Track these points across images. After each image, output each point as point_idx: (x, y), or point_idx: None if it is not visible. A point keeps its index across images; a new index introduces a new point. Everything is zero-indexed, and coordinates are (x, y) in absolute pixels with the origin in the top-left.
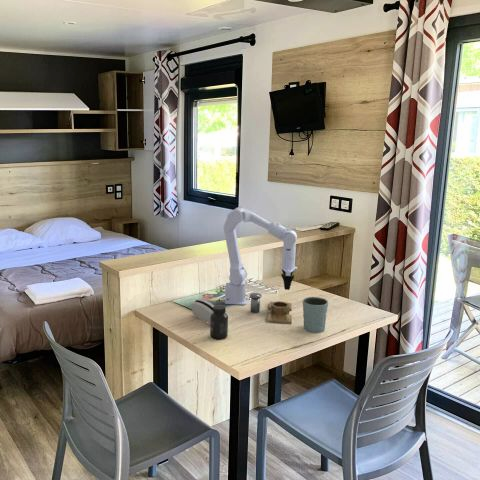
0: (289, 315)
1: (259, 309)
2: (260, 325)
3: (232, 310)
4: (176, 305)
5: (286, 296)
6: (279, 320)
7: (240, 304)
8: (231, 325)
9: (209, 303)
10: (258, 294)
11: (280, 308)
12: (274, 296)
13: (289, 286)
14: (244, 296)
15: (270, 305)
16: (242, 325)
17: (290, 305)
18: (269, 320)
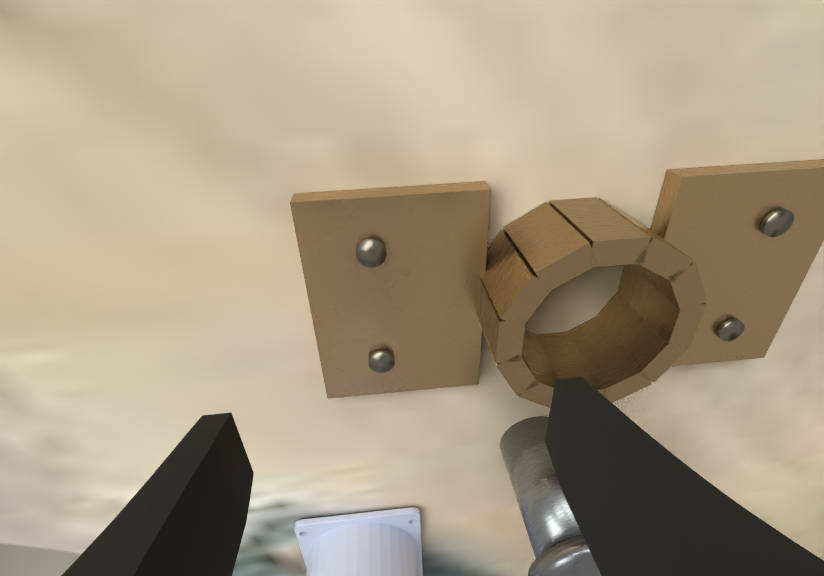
0: (696, 196)
1: None
2: (795, 375)
3: (521, 532)
4: None
5: (9, 269)
6: (802, 274)
7: (420, 526)
8: (752, 493)
9: None
10: (580, 572)
11: (694, 318)
12: (97, 375)
13: (632, 434)
14: (382, 568)
15: (429, 380)
16: (766, 455)
17: (384, 208)
18: (766, 342)
